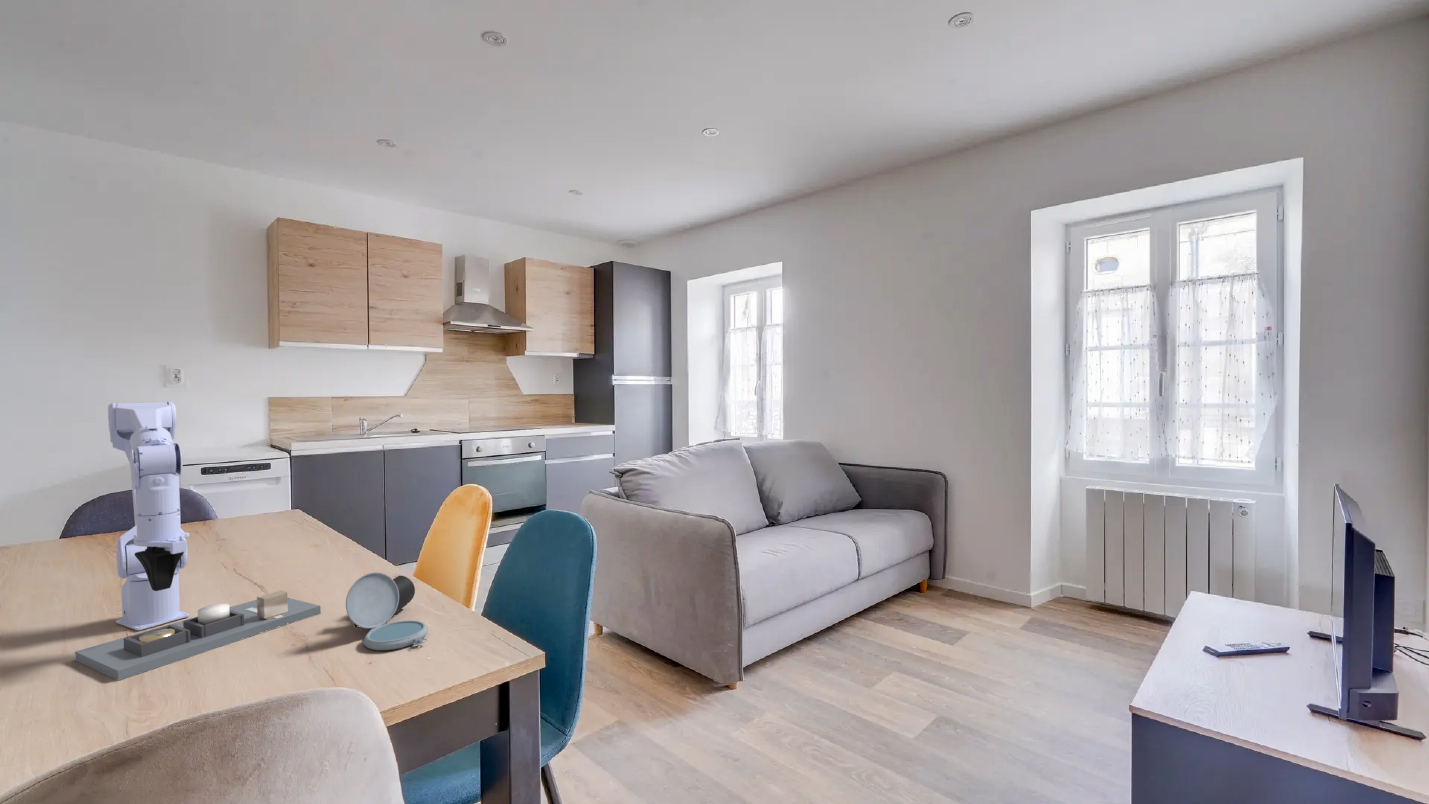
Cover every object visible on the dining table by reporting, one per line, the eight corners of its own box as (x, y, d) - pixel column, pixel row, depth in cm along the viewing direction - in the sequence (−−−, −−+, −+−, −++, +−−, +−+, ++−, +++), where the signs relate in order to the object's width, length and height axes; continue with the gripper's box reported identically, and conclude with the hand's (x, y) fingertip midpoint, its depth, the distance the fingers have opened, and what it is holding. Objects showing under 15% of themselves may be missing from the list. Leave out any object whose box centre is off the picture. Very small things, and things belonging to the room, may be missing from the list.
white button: (193, 621, 107) (192, 610, 107) (222, 613, 111) (221, 602, 111) (205, 625, 105) (205, 614, 105) (234, 616, 109) (234, 605, 109)
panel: (75, 660, 99) (74, 639, 99) (275, 601, 126) (274, 584, 126) (118, 680, 92) (117, 657, 92) (320, 613, 119) (319, 595, 119)
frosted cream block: (257, 616, 113) (256, 596, 113) (280, 609, 116) (280, 590, 116) (264, 618, 112) (263, 598, 112) (287, 611, 115) (287, 591, 115)
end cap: (389, 627, 111) (388, 591, 111) (351, 628, 111) (350, 592, 111) (416, 607, 121) (415, 574, 121) (380, 608, 121) (379, 575, 121)
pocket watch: (393, 565, 113) (446, 576, 106) (395, 622, 114) (448, 637, 107) (339, 581, 105) (393, 593, 98) (341, 643, 105) (395, 660, 98)
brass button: (134, 648, 100) (134, 636, 100) (167, 638, 104) (167, 627, 104) (146, 653, 98) (146, 641, 98) (180, 642, 102) (179, 631, 102)
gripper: (206, 511, 106) (209, 587, 107) (167, 505, 113) (170, 577, 113) (155, 519, 100) (159, 600, 100) (117, 512, 106) (120, 588, 107)
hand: (161, 589), depth 106 cm, fingers closed
